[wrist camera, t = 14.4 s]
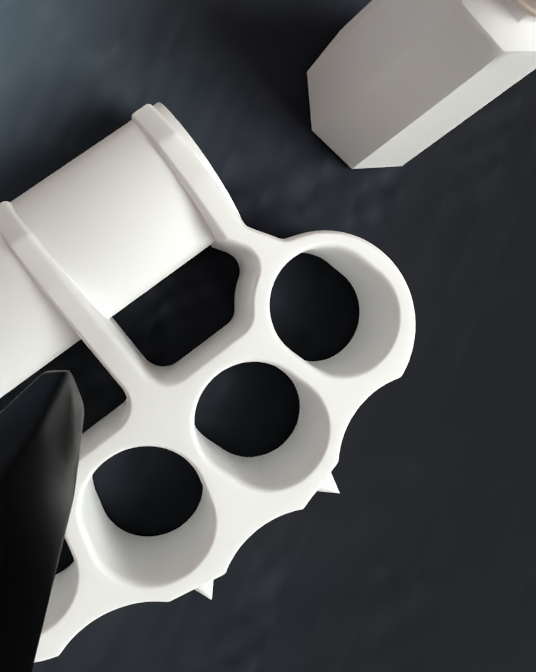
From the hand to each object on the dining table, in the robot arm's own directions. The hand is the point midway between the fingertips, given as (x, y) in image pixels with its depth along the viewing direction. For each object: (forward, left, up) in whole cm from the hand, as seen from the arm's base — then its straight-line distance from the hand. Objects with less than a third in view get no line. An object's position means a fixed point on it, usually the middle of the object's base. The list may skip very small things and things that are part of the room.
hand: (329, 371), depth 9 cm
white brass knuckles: (0, +4, -11) cm, 11 cm away
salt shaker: (+3, -10, -11) cm, 15 cm away
